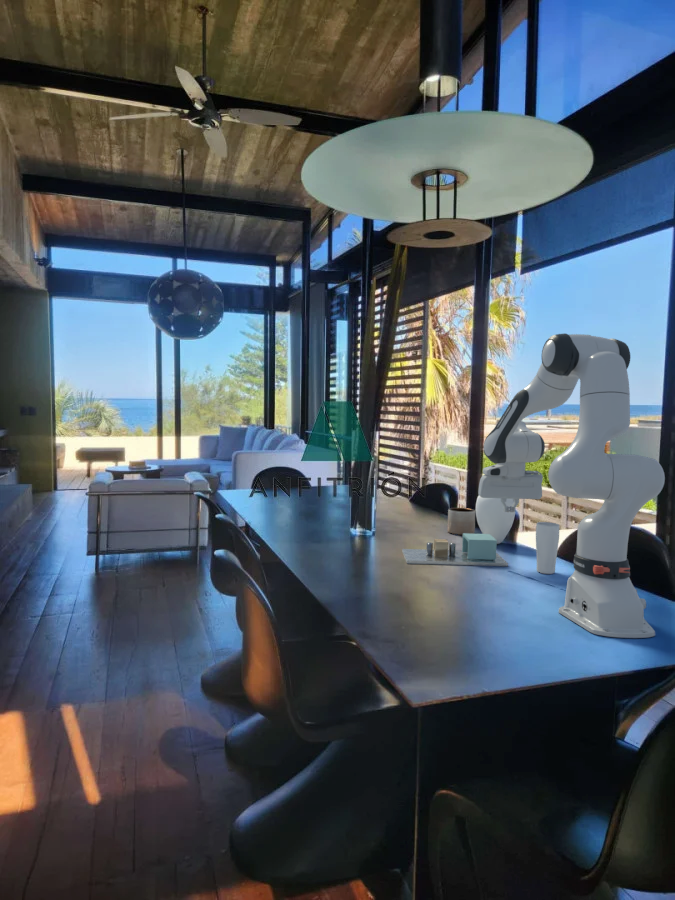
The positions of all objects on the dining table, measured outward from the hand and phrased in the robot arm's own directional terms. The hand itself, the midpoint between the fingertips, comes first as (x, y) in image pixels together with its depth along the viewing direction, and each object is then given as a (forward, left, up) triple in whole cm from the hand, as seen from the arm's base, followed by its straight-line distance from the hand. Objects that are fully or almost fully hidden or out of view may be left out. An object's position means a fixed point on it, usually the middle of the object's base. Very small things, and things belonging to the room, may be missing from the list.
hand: (509, 512), depth 193 cm
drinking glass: (-14, -8, -16) cm, 23 cm away
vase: (+26, -2, -16) cm, 31 cm away
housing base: (0, +18, -16) cm, 24 cm away
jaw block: (0, +22, -15) cm, 27 cm away
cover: (0, +9, -15) cm, 18 cm away
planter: (+44, +7, -16) cm, 47 cm away
